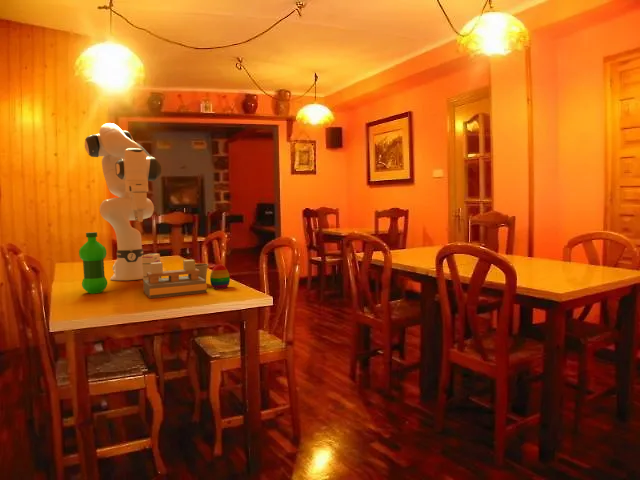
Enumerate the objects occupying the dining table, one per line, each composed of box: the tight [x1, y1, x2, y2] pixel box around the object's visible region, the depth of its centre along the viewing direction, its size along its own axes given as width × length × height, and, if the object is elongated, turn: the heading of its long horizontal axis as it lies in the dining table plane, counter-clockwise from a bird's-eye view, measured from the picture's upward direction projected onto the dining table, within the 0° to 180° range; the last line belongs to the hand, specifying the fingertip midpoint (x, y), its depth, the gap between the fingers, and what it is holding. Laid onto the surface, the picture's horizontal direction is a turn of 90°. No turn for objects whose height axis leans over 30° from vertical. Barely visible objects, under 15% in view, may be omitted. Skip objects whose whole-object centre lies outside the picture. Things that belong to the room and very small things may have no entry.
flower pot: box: [195, 263, 209, 281], centre depth 238 cm, size 9×9×9 cm
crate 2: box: [182, 259, 196, 271], centre depth 222 cm, size 4×4×4 cm
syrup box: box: [142, 253, 162, 285], centre depth 233 cm, size 6×6×14 cm
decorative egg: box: [209, 263, 231, 290], centre depth 228 cm, size 8×8×10 cm
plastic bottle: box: [78, 231, 108, 295], centre depth 224 cm, size 10×10×25 cm
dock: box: [142, 275, 208, 299], centre depth 220 cm, size 17×22×5 cm
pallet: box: [147, 269, 200, 283], centre depth 220 cm, size 6×20×4 cm, turn 116°
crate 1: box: [150, 261, 164, 274], centre depth 217 cm, size 4×4×4 cm
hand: (138, 221), depth 224 cm, fingers open, 8 cm apart
